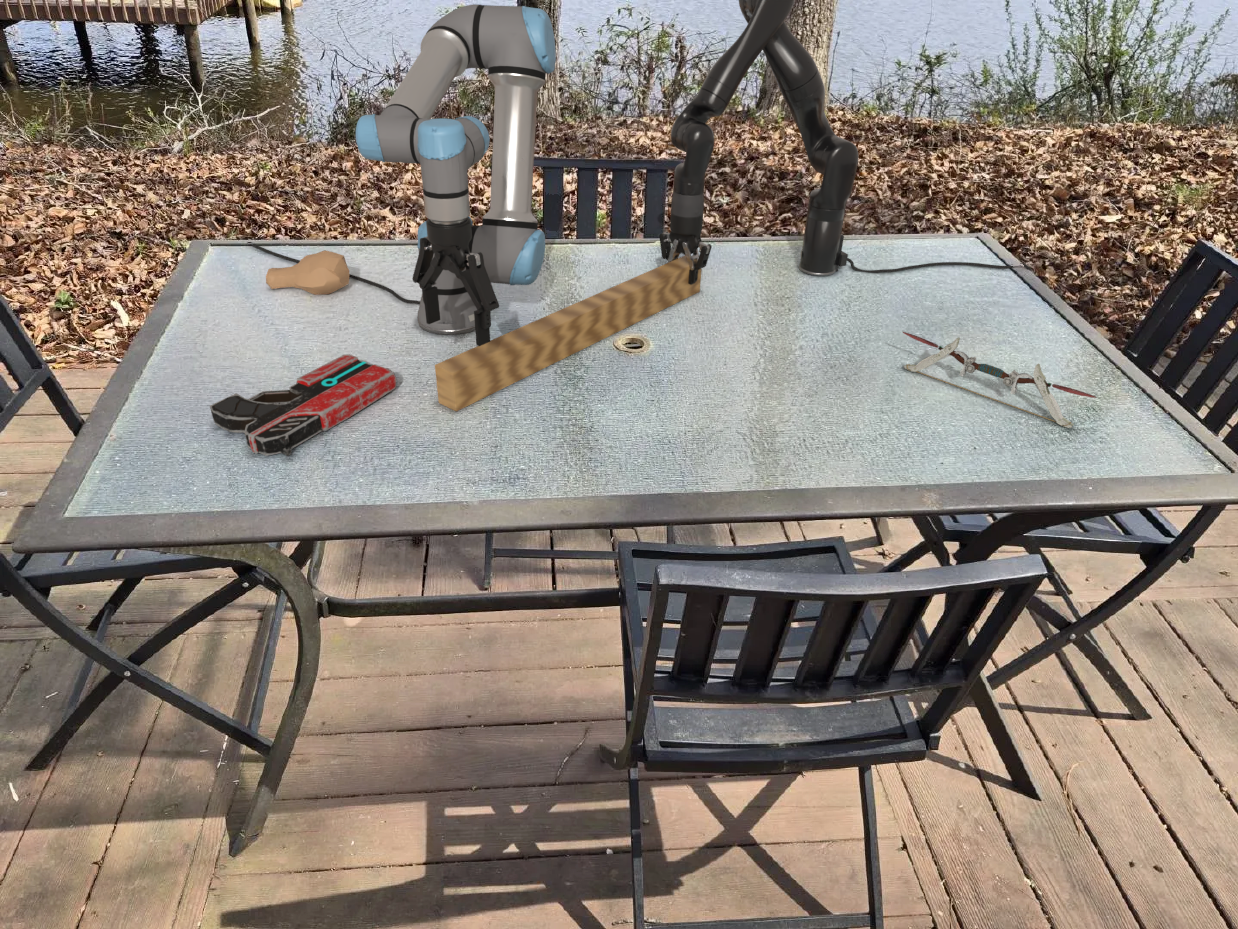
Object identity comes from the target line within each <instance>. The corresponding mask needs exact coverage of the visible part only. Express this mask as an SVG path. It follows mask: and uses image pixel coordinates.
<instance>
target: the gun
mask: <svg viewBox="0 0 1238 929" xmlns="http://www.w3.org/2000/svg"><path fill="white" fill-rule="evenodd" d="M397 381H398V380H397V377H396V374H395V372H394V371H393V370H392V369H390V368H388V367H383V366H381V365H378V364H372V363H369V362H367V361H364V360H360V359H359V357H358V356H355V355H352V354H349V353H348V354H341V355H340V356H338V357H337V358H335V359H333V360H331V361H329V362H327V363H325V364H322V365H321V366H319V367H317V368H315V369H313V370H311V371H309V372H307V373H305V374H303V375H302V376H300V377H299V376H298V377H297V378H296V383H295V384H293V385H291V386H289V387H288V389H282V390H281V389H280V390H279V389H277V390H262V391H260V392H259V393H257V394H255V395H253V396H252V397H250V398H246V397H244V396H242V395H240V394H239V393H237V392H236V393H233V394H231V395H230V396H227V397H225V398H223V399H221V400H219V401H217V402H215V403H212V404H210V405H209V409H210V412H211V417H212V420H213V422H214V424H215V425H216V426H217V427H218V428H220V429H223V430H224V431H227V432H229V433H237V434H239V433H240V434H244V435H245V436H244V437H245V440H246V445H247V448H248V449H250V450H251V452H252V453H253V454H256V455H257V454H261V455H263V456H265V457H267V456H272V455H277V454H282V455H284V456H286V457H289V456H291V455H292V450H293V449H294V448H296V447H298V446H300V445H301V444H303V443H304V442H307V440H309V439H311V438H313V437H314V436H316V435H317V434H319V433H321V432H325V431H326V432H327V431H329V430H330V429H332V428H333V427H335V426H337V425H339V424H340V423H342V422H344V421H346V420H347V419H349V418H351V417H352V416H353V415H356V414H357V413H359V412H360V411H362V410H363V409H365V408H367V407H368V406H370V405H371V404H373V403H376V401H377V400H380V399H381V398H383V397H385V395H387V394H389V393H391V392H392V391H393V390H395V389H396V387H397Z"/></svg>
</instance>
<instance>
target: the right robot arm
mask: <svg viewBox="0 0 1238 929" xmlns="http://www.w3.org/2000/svg"><path fill="white" fill-rule="evenodd" d="M794 4H795V0H738V5H739V9H740V12H741V14H742V16H743V18H744V20H745V21H746V23H747V25H746V26H745V28H744V30H743V31H742V33H741V34H740V36H738V38H737V39H736V40H735V41H734V43H732V45H730V47H729V48H728V49H727V50H726V51H725V52H724V53H723V54H722V55H721V56H720V57H719V58H718V59H717V60H716V62H715V63H713V66H712V67H711V68H710V70H709V71H708V74H707V75H706V77H705V78H704V81H703V83H702V85H701V86H700V88H699V90H698V91H697V94H696V95H695V97H694V98H692V100H691V101H689V103H688V104H687V106H686V107H685V108H684V109H683V110H682V111H681V113H679V114H678V116H677V118H676V119H675V120H674V122H673V125H672V126H671V129H670V141H671V144H672V145H673V146H674V147H675V148H676V149H677V150H679V151H682V152H684V153H685V159H684V161H683V162H681V163H679V164H677V165H676V167H675V169H674V174H673V187H672V188H673V190H672V196H671V203H670V219H669V221H670V222H669V229H670V232H669V231H665V232H662V233H659V236H658V237H659V244H660V245H659V246H660V252H661V258H662V259H663V260H666V261H667V263H669V262H671V261H673V260H676V259H678V258H680V254H682V255H683V256H685V255H686V259H687V261H688V262H689V267H690V270H689V280H688V284H691V285H692V284H694V283H695V282H696V281H697V280H698V270H699V269H701V268H702V269H704V268H706V267H707V264H708V261H709V258H710V254H711V251H712V249H713V248H712V244H711V243H708V244H706V243H704V242H703V241H702V236H701V234H702V231H703V223H704V209H705V186H706V185H705V182H706V174H707V170H708V167H709V164H710V163H711V162H710V161H711V159H712V155H713V152H714V148H715V135H714V134H715V133H714V131H713V128H712V127H711V126H710V125H709V124H707V122H708V121H709V120H710V119H712V118H717V117H721V116H722V115H723V114H724V112H726V110H727V108H728V106H729V104H730V102H731V100H732V98H733V97H734V95H735V93H736V91H737V89H738V87H739V86H740V84H741V83H742V81H743V79H744V78H745V76H746V73H747V72H748V71H749V70H750V68H751V67H752V65H753V64H754V62H755V61H756V60H757V58H758V57H759V55H760V54H761V53H762V52H763V53H764V56H765V59H766V61H767V63H768V65H769V68H770V69H771V72H772V74H773V76H774V78H775V81H776V83H777V86H778V88H779V91H780V93H781V95H782V97H783V99H784V101H785V104H786V105H787V107H788V109H789V111H790V115H791V116H792V118H793V121H794V123H795V125H796V127H797V129H798V131H799V133H800V137H801V140H802V142H803V146H804V150H805V152H806V155H807V159H808V161H809V163H810V166H811V167H812V169H814V171H815V172H817V173H819V174H820V175H823V176H822V181H821V186H820V187H819V188H814V189H813V190H811V191H810V194H809V198H808V205H807V212H806V219H805V227H804V234H803V240H802V241H803V242H802V245H801V246H802V247H801V250H800V260H799V264H798V269H799V271H801V273H804V274H806V275H810V276H816V277H827V276H831V275H834V274H836V272H838V271H839V270H840V267H846V266H847V263H849V265H850V268H851V269H852V270H854V271H855V272H859V273H860V272H861V273H867V274H868V273H869V274H881V273H897V272H902V271H906V270H913V269H920V268H926V267H937V266H972V267H981V268H990V269H999V270H1001V269H1002V270H1003V269H1005V270H1006V269H1012V268H1014V267H1013V266H1007V265H999V264H988V263H980V262H966V261H964V262H963V261H945V262H944V261H943V262H941V261H940V262H930V263H923V264H915V265H909V266H902V267H898V268H887V269H886V268H885V269H884V268H883V269H872V270H868V269H867V270H866V269H861V268H858V267H856V266H855V264H854V261H853V260H852V259H851V258H850V257H849V254H848V253H846V252H845V251H843V245H844V238H845V236H844V234H842V232H843V227H844V221H845V215H846V210H847V203H848V200H849V198H850V197H851V195H852V192H853V189H854V184H855V178H856V174H857V171H858V166H859V149H858V148H857V146H856V144H854V143H853V142H851V141H850V140H847V139H845V138H842V137H841V136H840V137H839V136H838V135H836V133H835V132H834V131H833V129H832V127H831V125H830V123H829V121H828V119H827V116H826V112H825V101H826V88H825V83H824V81H823V78H822V76H821V74H820V71H819V68H818V66H817V63H816V62H815V59H814V58H813V56H812V55H811V54H810V52H809V51H808V50H807V49H806V48H805V46H804V45H803V44H802V43H801V42H800V41H799V39H798V38H797V37H796V36H795V35H794V33H793V32H791V30H790V29H789V26H788V25H787V23H786V21H785V20H786V19H787V18H788V16H789V14H790V13H791V12H792V9H793V7H794ZM671 244H672V245H671ZM698 248H699V250H698ZM1020 264H1023V265H1024V267H1023V268H1025V269H1026V270H1028V271H1031V267H1029V265H1028V264H1026V263H1022V262H1021V263H1020Z"/></svg>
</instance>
